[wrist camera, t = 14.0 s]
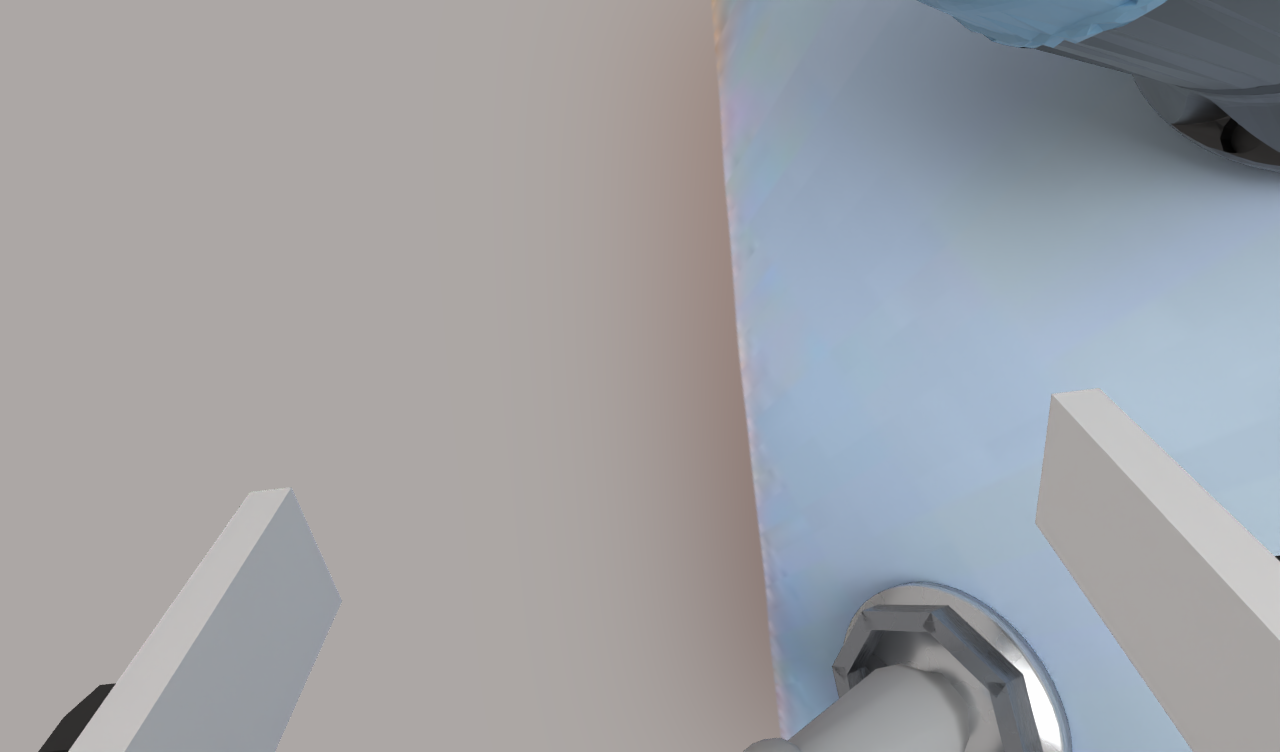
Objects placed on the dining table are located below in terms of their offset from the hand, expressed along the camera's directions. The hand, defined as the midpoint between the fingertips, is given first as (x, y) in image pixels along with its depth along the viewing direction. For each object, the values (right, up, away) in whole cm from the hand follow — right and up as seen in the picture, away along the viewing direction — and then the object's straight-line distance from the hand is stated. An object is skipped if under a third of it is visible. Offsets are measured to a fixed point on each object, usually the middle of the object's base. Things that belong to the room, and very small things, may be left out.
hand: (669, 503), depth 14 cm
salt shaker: (+15, -15, +28) cm, 35 cm away
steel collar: (+16, -15, +28) cm, 36 cm away
